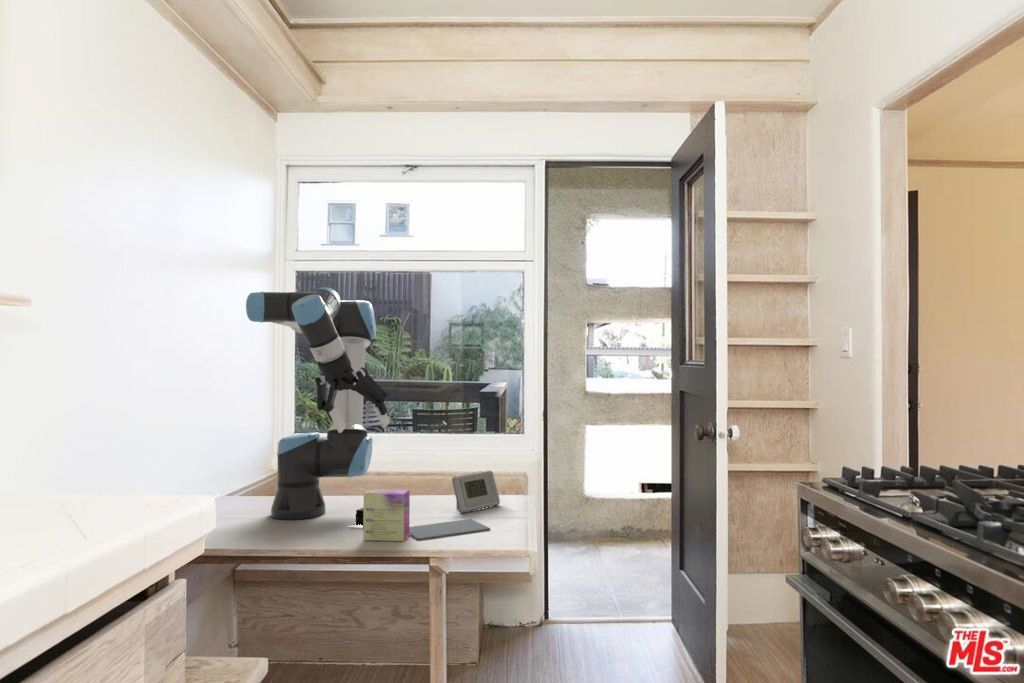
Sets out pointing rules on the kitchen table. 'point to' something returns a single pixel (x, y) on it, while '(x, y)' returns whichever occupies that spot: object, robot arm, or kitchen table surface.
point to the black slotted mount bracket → (359, 516)
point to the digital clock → (475, 491)
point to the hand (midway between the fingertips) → (364, 427)
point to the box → (386, 515)
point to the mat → (446, 529)
